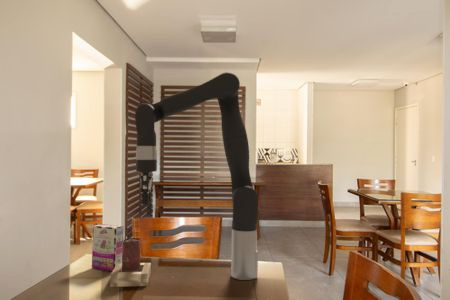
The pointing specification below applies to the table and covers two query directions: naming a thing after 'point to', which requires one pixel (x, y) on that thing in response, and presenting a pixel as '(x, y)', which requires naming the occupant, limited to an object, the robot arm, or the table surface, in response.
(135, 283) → the frame
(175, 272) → the table surface
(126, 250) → the can
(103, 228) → the candy bar box
